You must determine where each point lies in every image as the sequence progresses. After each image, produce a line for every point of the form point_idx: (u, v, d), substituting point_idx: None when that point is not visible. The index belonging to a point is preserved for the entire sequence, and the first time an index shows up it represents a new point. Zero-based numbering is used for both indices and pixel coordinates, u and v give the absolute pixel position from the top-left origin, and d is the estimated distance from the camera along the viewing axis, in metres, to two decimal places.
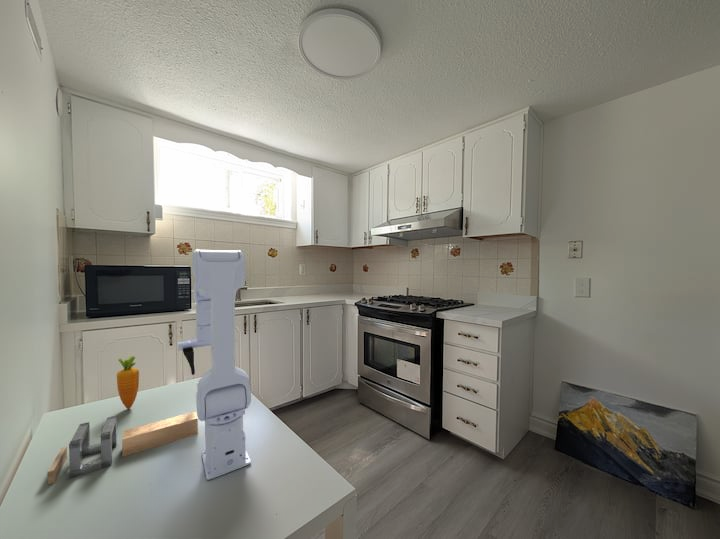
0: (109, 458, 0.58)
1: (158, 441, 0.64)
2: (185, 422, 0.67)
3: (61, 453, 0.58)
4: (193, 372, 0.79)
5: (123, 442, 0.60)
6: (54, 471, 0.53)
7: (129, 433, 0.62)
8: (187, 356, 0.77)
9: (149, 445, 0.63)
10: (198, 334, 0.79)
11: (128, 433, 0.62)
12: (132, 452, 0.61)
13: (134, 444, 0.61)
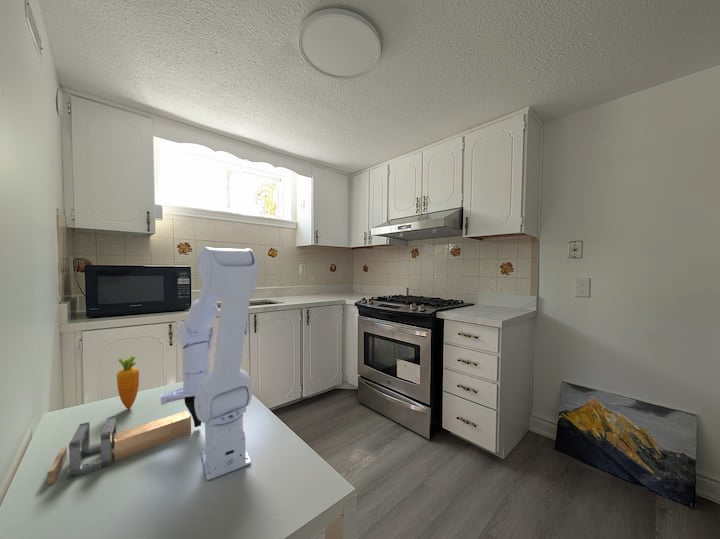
0: (109, 458, 0.58)
1: (151, 441, 0.63)
2: (178, 421, 0.67)
3: (61, 453, 0.58)
4: (196, 424, 0.69)
5: (116, 444, 0.59)
6: (54, 471, 0.53)
7: (120, 435, 0.61)
8: (189, 407, 0.67)
9: (142, 446, 0.62)
10: (185, 384, 0.67)
11: (119, 436, 0.61)
12: (125, 454, 0.60)
13: (127, 446, 0.61)
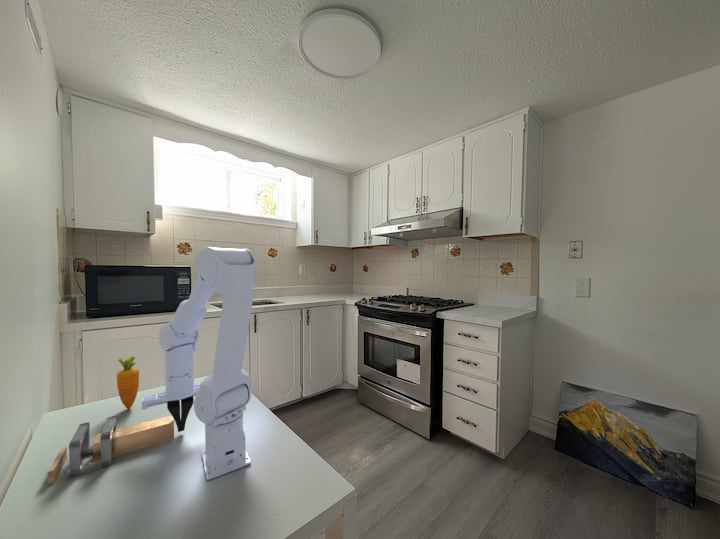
0: (109, 458, 0.58)
1: (131, 446, 0.62)
2: (160, 426, 0.65)
3: (61, 453, 0.58)
4: (179, 429, 0.67)
5: (94, 447, 0.59)
6: (54, 471, 0.53)
7: None
8: (172, 411, 0.65)
9: (122, 450, 0.61)
10: (167, 387, 0.65)
11: (100, 437, 0.61)
12: None
13: None
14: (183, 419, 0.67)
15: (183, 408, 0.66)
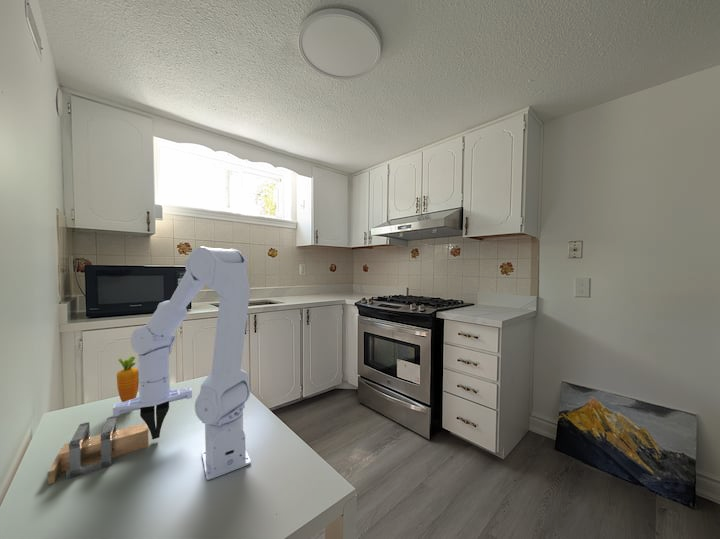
0: (109, 458, 0.58)
1: None
2: (133, 435, 0.62)
3: None
4: (154, 436, 0.64)
5: (60, 457, 0.56)
6: (54, 471, 0.53)
7: None
8: (145, 418, 0.62)
9: (91, 460, 0.58)
10: (140, 393, 0.63)
11: (68, 447, 0.58)
12: None
13: None
14: (158, 426, 0.64)
15: (157, 414, 0.64)
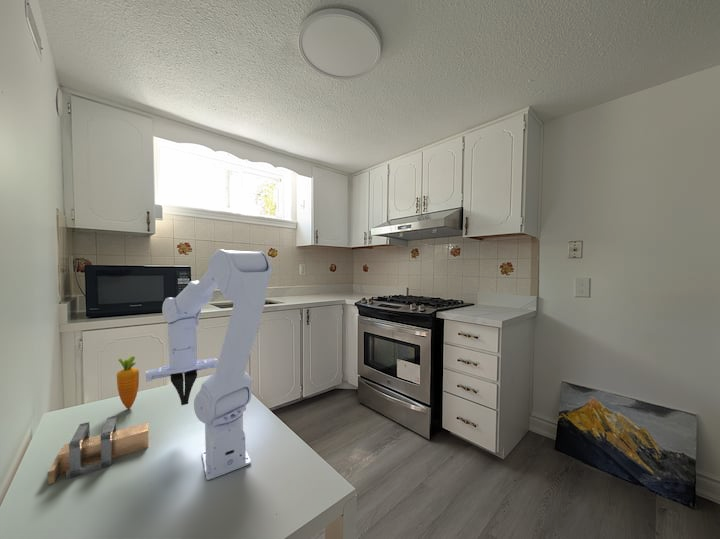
0: (109, 458, 0.58)
1: None
2: (133, 435, 0.62)
3: None
4: (183, 402, 0.67)
5: (60, 458, 0.56)
6: (54, 471, 0.53)
7: None
8: (175, 384, 0.65)
9: (91, 460, 0.58)
10: (171, 360, 0.66)
11: (68, 447, 0.58)
12: None
13: None
14: (187, 392, 0.67)
15: (187, 381, 0.67)
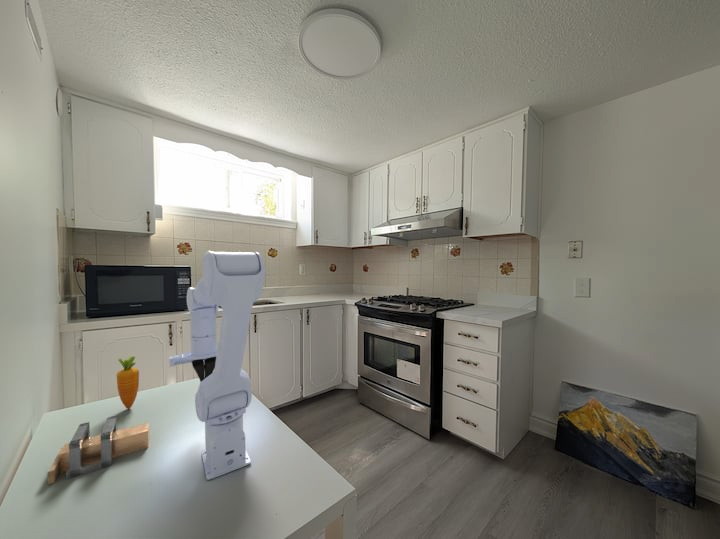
0: (109, 458, 0.58)
1: None
2: (133, 435, 0.62)
3: None
4: None
5: (60, 457, 0.56)
6: (54, 471, 0.53)
7: None
8: (197, 370, 0.69)
9: (91, 460, 0.58)
10: (193, 347, 0.69)
11: (68, 447, 0.58)
12: None
13: None
14: None
15: (208, 367, 0.70)
